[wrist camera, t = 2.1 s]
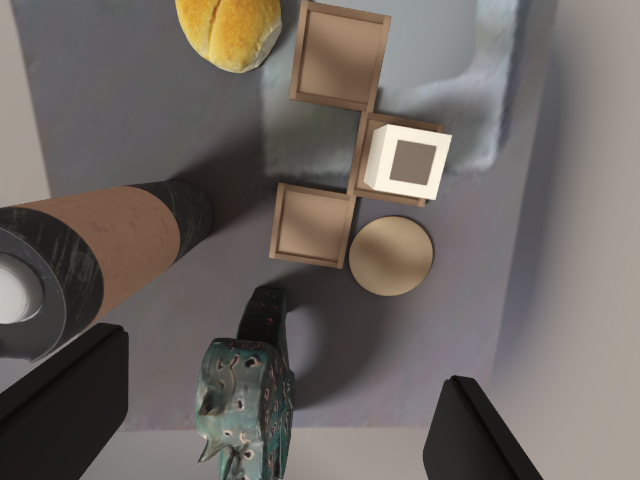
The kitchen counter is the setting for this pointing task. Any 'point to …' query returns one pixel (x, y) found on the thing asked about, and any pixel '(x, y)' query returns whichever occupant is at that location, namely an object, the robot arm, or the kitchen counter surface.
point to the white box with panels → (406, 161)
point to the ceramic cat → (249, 393)
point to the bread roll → (231, 30)
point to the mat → (390, 256)
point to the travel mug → (88, 257)
